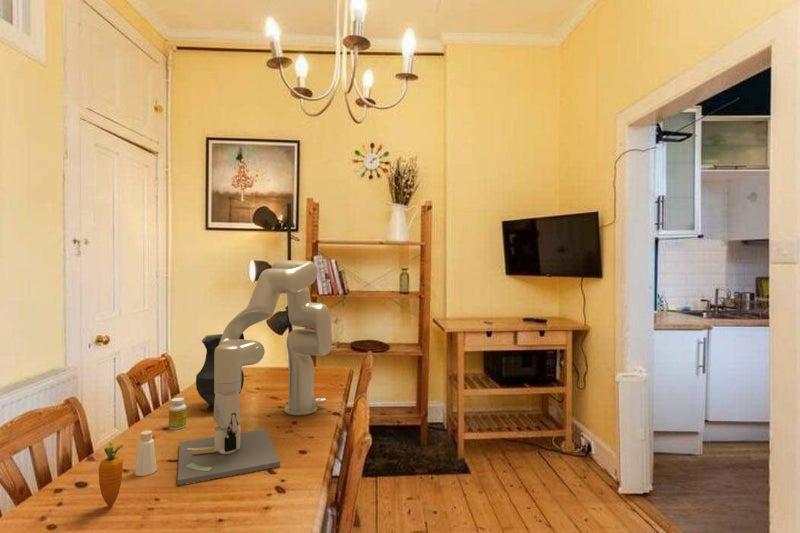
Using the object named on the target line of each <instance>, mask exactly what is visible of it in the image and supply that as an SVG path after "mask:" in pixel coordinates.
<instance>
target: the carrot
mask: <svg viewBox="0 0 800 533" xmlns="http://www.w3.org/2000/svg"><path fill="white" fill-rule="evenodd" d="M121 448H123V445H122V444H120V445H119V446H117V447H116V449H115V450H114V442H110V443H109V448H108V446H105V447H104V449H103V451H104V453H105V455H106V456H107V457H106V458H104V459H102V460H101V461H100V463H99V466H98V483H99V490H100V493H101V496H102V500H103V501H104V503H105V504H106V505H107V506H108V507H110V506H111V507H112V506H113V505H114V504H115V502H116V500H117V498H118V496H119V493H120V490H121V484H122V479H123V469H124V468H123V467H124V466H123V465H124V462H123V460H124V459H123V458H122V457H120V456H116V454H117V453H118V452H119V450H121Z"/></svg>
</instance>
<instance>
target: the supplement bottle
mask: <svg viewBox="0 0 800 533" xmlns="http://www.w3.org/2000/svg"><path fill="white" fill-rule="evenodd" d="M170 402H171V405H170V406H169V408H168V429H170V430H172V431H173V430H174V431H175V430H181V428H182V429H184V428H185V427H186V426H187V405H186V404H185V398H184V397H174V398H172V399H171V401H170Z"/></svg>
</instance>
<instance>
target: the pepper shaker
mask: <svg viewBox="0 0 800 533" xmlns="http://www.w3.org/2000/svg"><path fill="white" fill-rule="evenodd" d="M139 434H140V440H139V441H138V444H137V445H138V446H137V454H136V463H135V470H134V473H135V476H138V477H139V476H140V477H145V476H150V475H152V474H154V473H156V472H157V471H158V469H157V467H158V466H157V459H156V458H157V457H156V450H155V441H154V438H153V431H152V430H150V429H149V430H144V431H142V432H140V433H139Z"/></svg>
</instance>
